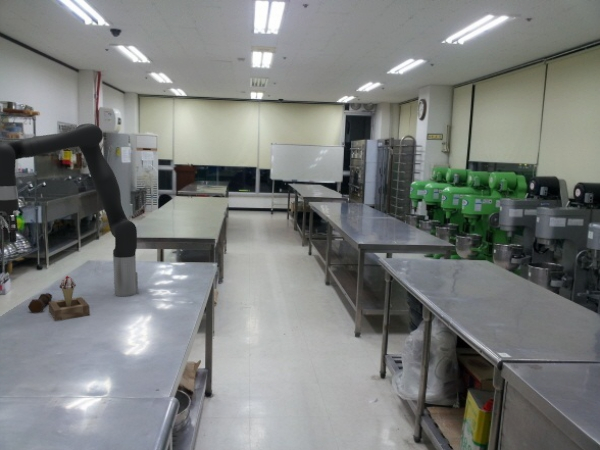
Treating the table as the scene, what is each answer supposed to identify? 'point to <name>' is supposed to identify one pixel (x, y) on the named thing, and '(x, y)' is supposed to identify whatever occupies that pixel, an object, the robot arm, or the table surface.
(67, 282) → the ice cream cone
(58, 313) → the wooden square frame
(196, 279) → the table surface
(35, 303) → the bolt
